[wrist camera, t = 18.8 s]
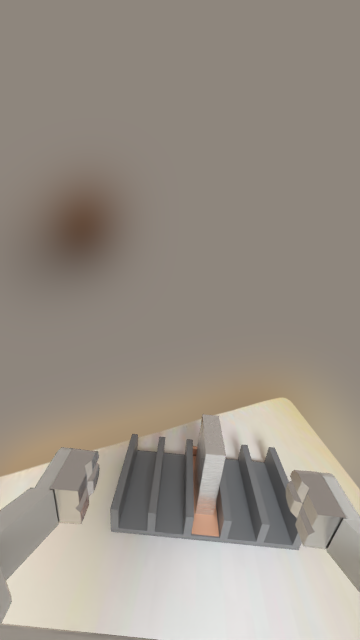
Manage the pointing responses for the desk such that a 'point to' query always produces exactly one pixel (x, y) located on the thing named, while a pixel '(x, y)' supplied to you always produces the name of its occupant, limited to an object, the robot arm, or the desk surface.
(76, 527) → the desk surface
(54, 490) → the robot arm
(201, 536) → the rack
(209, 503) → the panel
